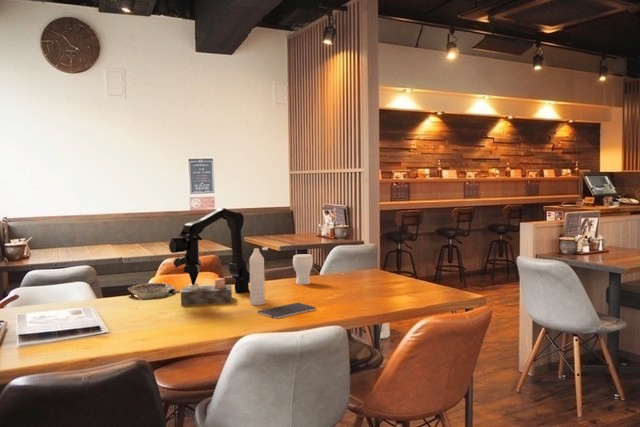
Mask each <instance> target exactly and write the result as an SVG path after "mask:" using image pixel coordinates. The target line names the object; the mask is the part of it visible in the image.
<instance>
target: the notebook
mask: <svg viewBox="0 0 640 427" xmlns="http://www.w3.org/2000/svg"><path fill="white" fill-rule="evenodd" d="M308 311H309V312H313V311H316V307H315V306H312V305H308V304H306V303H302V302H294V303H288V304H284V305H280V306H276V307H271V308H270V307H269V308H266V309H265V308H264V309H260V310H258V311H257V314H260V315H263V316H266V317H269V318H272V319H276V320H277V319H281V318H286V317H290V316H291V317H292V316H295V315H300V314H303V313H309V312H308ZM299 313H300V314H299Z"/></svg>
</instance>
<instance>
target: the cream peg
mask: <svg viewBox="0 0 640 427" xmlns="http://www.w3.org/2000/svg"><path fill="white" fill-rule="evenodd" d="M198 286H199V283H195V284H194V285H192V283H189V284H188V286H187V287H188V288H189V290H198Z"/></svg>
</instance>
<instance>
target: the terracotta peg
mask: <svg viewBox="0 0 640 427" xmlns="http://www.w3.org/2000/svg"><path fill="white" fill-rule="evenodd" d="M225 283H226V281H225V278H224V277H223V278H221V277H220V278H215V279H214V285H215V289H225V285H226V284H225Z"/></svg>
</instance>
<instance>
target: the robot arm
mask: <svg viewBox="0 0 640 427" xmlns="http://www.w3.org/2000/svg"><path fill="white" fill-rule="evenodd" d="M220 219H223V220H225V221H226V224H227V227H228V229H229V230H230V238H231V239H230V241H231V251H232V252H231V253H232V259H231V260H232V261H231V262H228V267H229V269H228V272H229V273H230V275H231V276H232V279H233V280H235V281H234V292H235V293H236V294H241V293H250V271H248V267H247V264H246V262H245V260H244V258H243V257H244V255H243V241H242V229H243V226H244V220H245V216H244V214H242V213H241V212H235V211H232V210H229V209H227V208H224V207H218V208H216V210H214V211H212V212H210V213H208V214H207V215H205V216H203V217H202V218H199V219H197V220H194V221H193V220H192V221H190V222H187V223H185V224H183V228H182V229H181V232H180V233H179V235H178V237H171V240H170V242H169V245H168V249H169V251H170V253H172V254H177V253H183V252H185V254H184V256H181V257H176V258H175V259H174V260H173V262H172V263H173V265H174V267H175V268H176V269H178V267H180V266H183V265H185V266H184V267H183V273H187V274H188V275H189V279H190V282H191V284H192V285H194V284H196V283H197V282H196V281H197V279H198V276H199V272H200V270H201V267H202V261H201V260H200V252H199V249H200V248H199V241H202V240H203V237H201V236H200V234H201V233H203V231H204V230H205V229H206V228H207V227H209V226H210V225H212V224H213V223H215V222H217V221H218V220H220Z"/></svg>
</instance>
